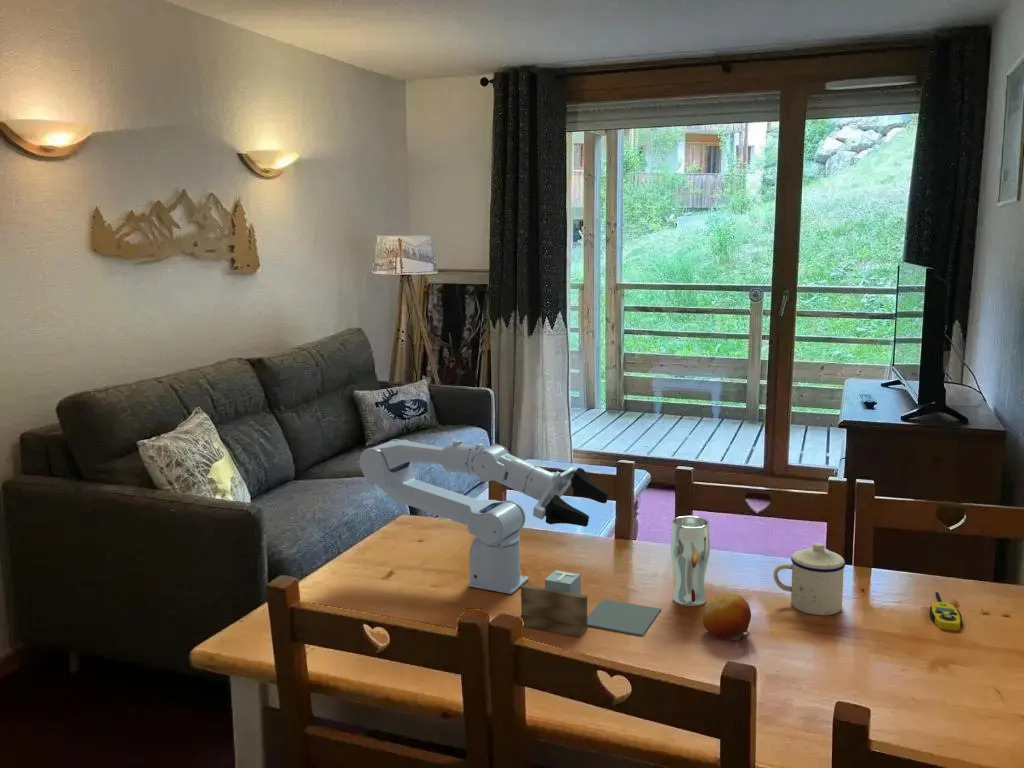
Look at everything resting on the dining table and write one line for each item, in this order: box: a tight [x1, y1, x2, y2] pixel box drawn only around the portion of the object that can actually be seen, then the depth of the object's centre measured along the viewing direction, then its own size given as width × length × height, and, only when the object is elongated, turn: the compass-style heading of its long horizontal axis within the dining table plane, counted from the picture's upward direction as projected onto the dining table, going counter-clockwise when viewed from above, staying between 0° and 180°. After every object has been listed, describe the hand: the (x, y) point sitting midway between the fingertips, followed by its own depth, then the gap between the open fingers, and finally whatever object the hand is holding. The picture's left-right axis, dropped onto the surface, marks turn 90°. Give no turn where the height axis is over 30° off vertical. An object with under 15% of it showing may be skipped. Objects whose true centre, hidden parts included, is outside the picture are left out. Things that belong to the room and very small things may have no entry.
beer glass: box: [670, 515, 711, 607], centre depth 157 cm, size 7×7×15 cm
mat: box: [587, 598, 662, 637], centre depth 151 cm, size 11×11×1 cm
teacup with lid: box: [773, 542, 846, 616], centre depth 154 cm, size 12×9×12 cm
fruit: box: [701, 592, 752, 642], centre depth 144 cm, size 8×8×8 cm
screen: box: [519, 584, 588, 638], centre depth 148 cm, size 12×4×6 cm, turn 64°
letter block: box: [544, 569, 582, 595], centre depth 158 cm, size 5×5×5 cm
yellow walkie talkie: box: [929, 591, 963, 632], centre depth 151 cm, size 5×2×15 cm
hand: (597, 509), depth 155 cm, fingers open, 7 cm apart
